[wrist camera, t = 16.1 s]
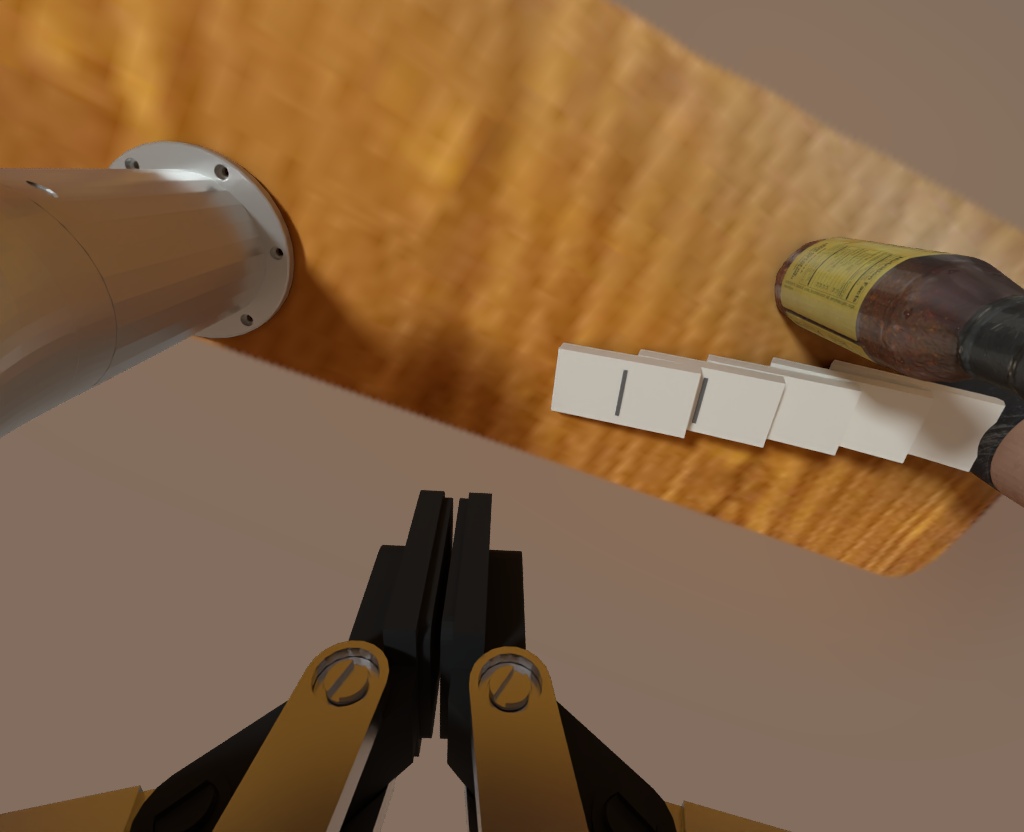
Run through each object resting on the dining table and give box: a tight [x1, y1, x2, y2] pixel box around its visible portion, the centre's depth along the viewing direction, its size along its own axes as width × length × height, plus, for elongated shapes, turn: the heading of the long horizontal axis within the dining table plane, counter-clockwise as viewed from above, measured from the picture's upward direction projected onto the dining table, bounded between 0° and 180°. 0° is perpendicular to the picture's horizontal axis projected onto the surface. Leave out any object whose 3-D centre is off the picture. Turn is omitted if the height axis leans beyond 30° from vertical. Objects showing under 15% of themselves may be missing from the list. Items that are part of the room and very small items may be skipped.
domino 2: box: [638, 349, 786, 448], centre depth 37 cm, size 2×5×10 cm
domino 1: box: [551, 343, 701, 438], centre depth 37 cm, size 2×5×10 cm
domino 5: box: [829, 359, 1005, 472], centre depth 37 cm, size 2×5×10 cm
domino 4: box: [770, 357, 934, 464], centre depth 37 cm, size 2×5×10 cm
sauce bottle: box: [775, 237, 1024, 400], centre depth 27 cm, size 6×6×20 cm
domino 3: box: [707, 354, 862, 456], centre depth 37 cm, size 2×5×10 cm
